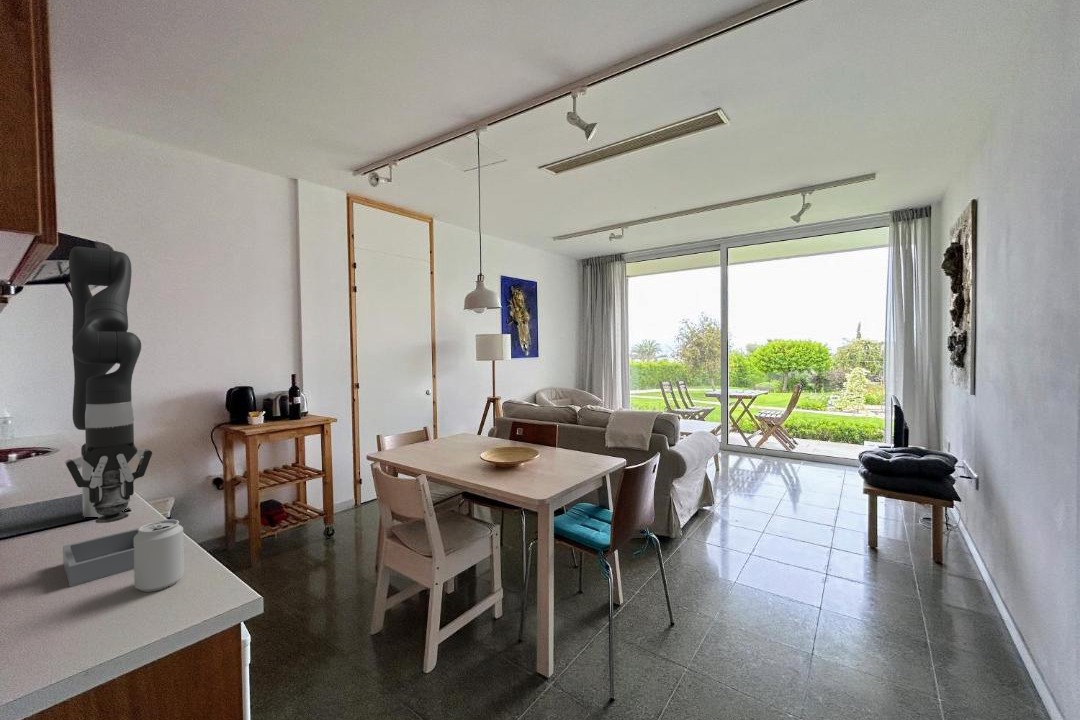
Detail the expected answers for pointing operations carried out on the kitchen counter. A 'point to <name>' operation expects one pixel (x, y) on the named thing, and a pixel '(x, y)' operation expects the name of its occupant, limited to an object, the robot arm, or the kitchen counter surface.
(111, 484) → the chess piece
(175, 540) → the can
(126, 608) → the kitchen counter surface
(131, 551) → the bin
